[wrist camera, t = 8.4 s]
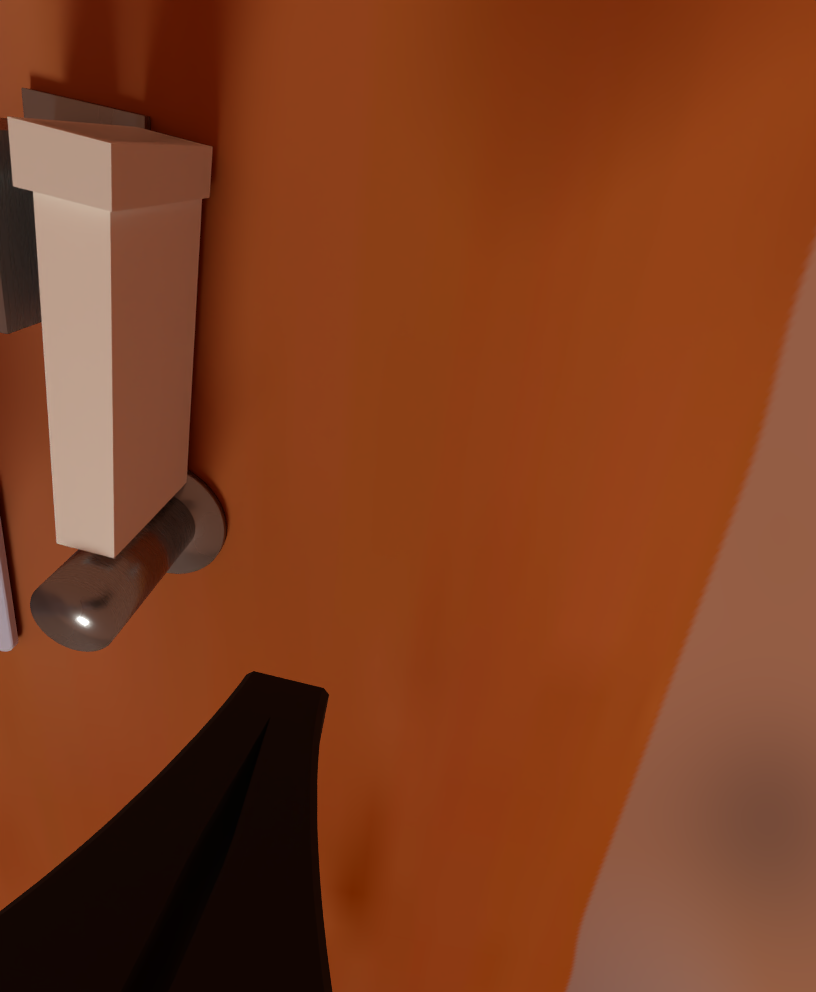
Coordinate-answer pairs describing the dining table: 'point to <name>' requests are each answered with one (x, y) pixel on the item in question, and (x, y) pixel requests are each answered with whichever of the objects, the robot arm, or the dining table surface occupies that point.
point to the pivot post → (129, 570)
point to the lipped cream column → (114, 315)
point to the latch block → (10, 210)
